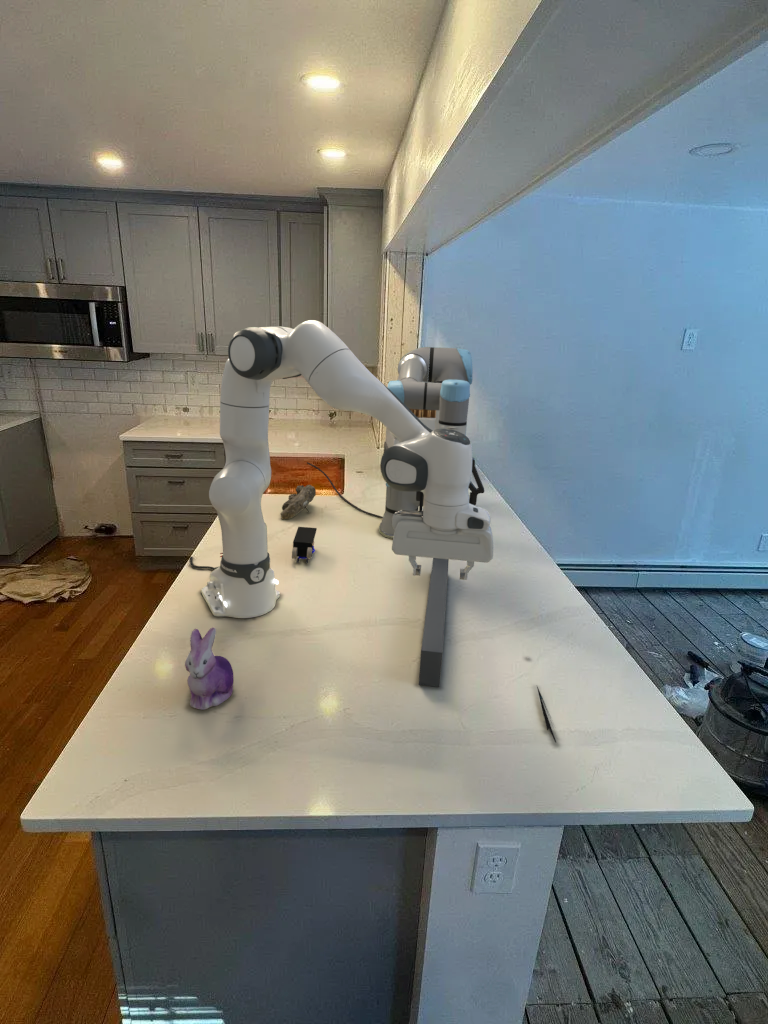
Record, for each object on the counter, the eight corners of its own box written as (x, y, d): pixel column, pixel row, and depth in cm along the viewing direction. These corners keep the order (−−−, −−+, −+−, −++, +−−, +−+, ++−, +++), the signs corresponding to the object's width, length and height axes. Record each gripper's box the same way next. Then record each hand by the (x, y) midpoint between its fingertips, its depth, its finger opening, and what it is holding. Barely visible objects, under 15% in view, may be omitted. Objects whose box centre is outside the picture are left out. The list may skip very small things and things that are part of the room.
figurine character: (313, 570, 172) (317, 545, 186) (312, 548, 169) (317, 525, 182) (290, 569, 172) (297, 545, 186) (290, 548, 169) (296, 524, 182)
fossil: (285, 490, 226) (313, 470, 221) (301, 508, 229) (329, 489, 224) (270, 515, 206) (301, 493, 201) (287, 534, 209) (318, 513, 204)
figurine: (192, 718, 107) (185, 650, 102) (183, 687, 116) (177, 623, 111) (241, 704, 111) (238, 639, 106) (229, 675, 120) (225, 613, 115)
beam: (432, 574, 170) (434, 548, 167) (446, 576, 170) (449, 549, 167) (418, 684, 120) (421, 650, 117) (439, 687, 120) (442, 652, 117)
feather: (528, 662, 131) (533, 656, 131) (556, 747, 105) (562, 740, 104) (522, 659, 131) (527, 652, 130) (548, 742, 104) (555, 735, 104)
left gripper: (390, 514, 109) (387, 578, 114) (498, 523, 107) (490, 588, 112) (394, 503, 115) (391, 565, 120) (496, 511, 113) (488, 574, 118)
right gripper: (403, 439, 149) (399, 514, 157) (499, 445, 147) (490, 522, 154) (406, 433, 156) (401, 505, 164) (497, 439, 154) (489, 513, 161)
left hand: (439, 576), depth 116 cm, fingers open, 8 cm apart
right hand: (444, 514), depth 159 cm, fingers open, 13 cm apart
